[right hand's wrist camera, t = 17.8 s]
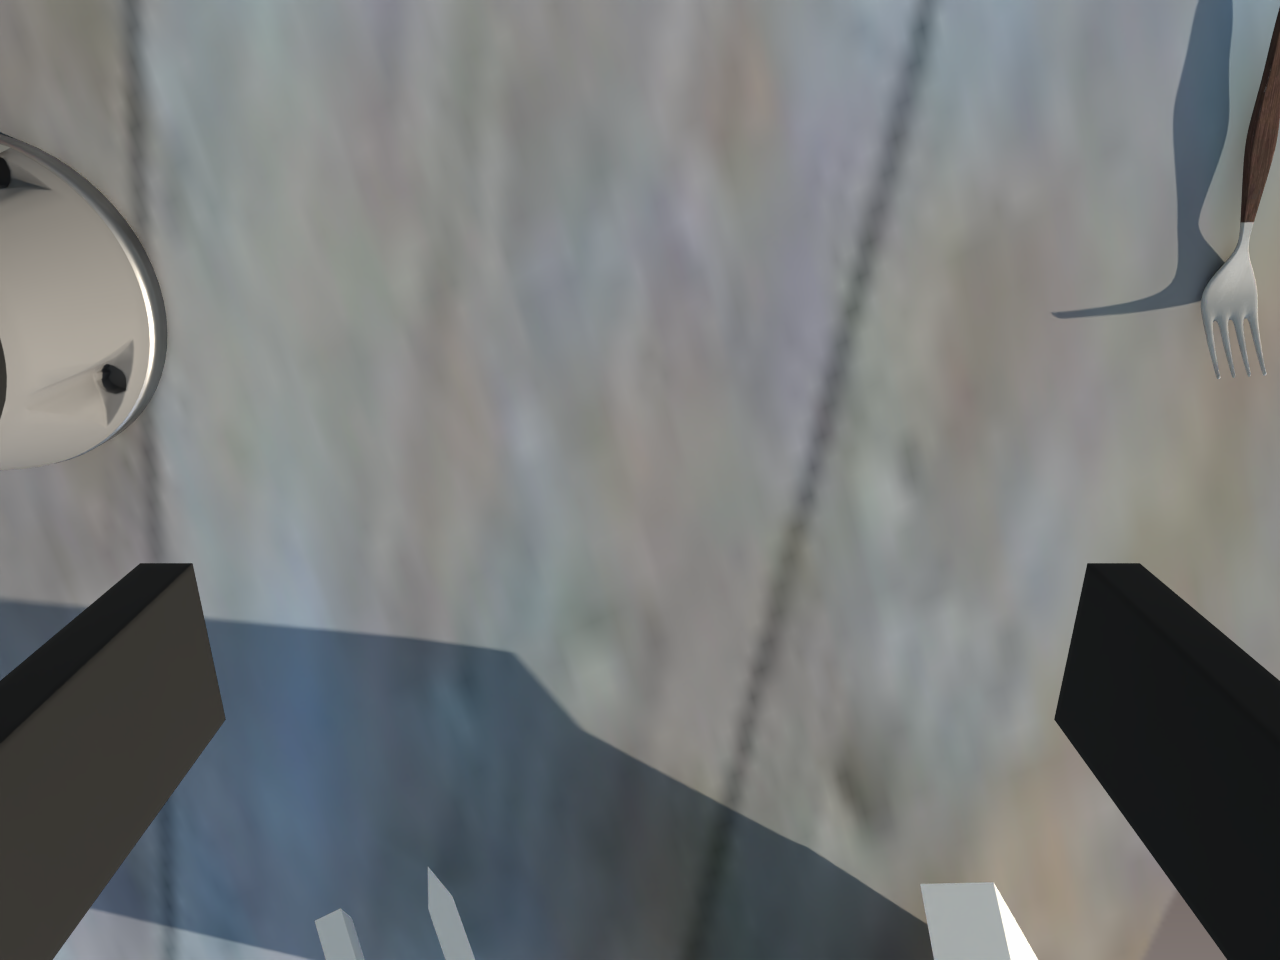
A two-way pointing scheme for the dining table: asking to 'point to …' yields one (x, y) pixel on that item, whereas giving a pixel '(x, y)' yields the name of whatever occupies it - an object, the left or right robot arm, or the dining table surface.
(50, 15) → the dining table surface
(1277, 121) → the fork
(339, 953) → the white plastic object
